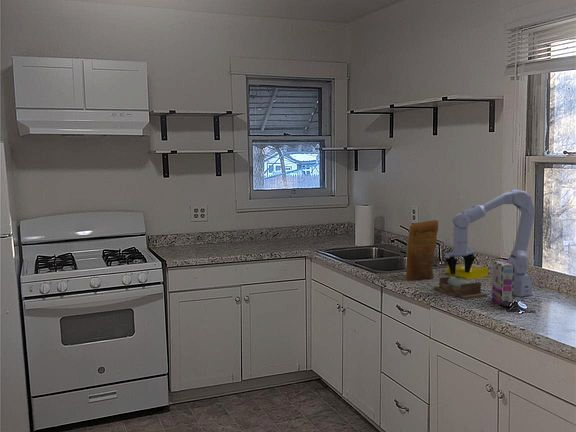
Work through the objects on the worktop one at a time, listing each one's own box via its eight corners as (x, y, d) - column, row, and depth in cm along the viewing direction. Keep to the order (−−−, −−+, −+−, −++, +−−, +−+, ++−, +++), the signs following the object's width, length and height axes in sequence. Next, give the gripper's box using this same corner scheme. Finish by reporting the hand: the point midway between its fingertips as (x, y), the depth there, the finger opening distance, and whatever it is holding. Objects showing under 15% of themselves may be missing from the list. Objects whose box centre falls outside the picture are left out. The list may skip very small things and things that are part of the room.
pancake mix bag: (441, 278, 275) (443, 220, 272) (409, 282, 267) (410, 223, 264) (432, 275, 281) (433, 219, 278) (400, 279, 273) (401, 221, 270)
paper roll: (472, 292, 243) (472, 280, 242) (462, 293, 241) (463, 282, 241) (456, 287, 252) (456, 276, 252) (447, 288, 250) (447, 277, 250)
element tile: (489, 276, 280) (490, 266, 280) (468, 280, 272) (469, 270, 272) (465, 271, 293) (465, 261, 292) (444, 274, 285) (445, 265, 284)
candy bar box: (513, 307, 223) (514, 265, 222) (500, 307, 223) (501, 265, 222) (503, 299, 234) (504, 260, 233) (491, 299, 235) (492, 260, 233)
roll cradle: (486, 296, 240) (487, 283, 239) (463, 299, 235) (464, 286, 235) (455, 286, 258) (456, 274, 258) (433, 289, 254) (433, 276, 253)
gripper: (468, 239, 251) (467, 269, 252) (440, 241, 245) (440, 273, 247) (479, 241, 244) (478, 272, 246) (451, 244, 239) (450, 276, 240)
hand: (460, 273), depth 246 cm, fingers open, 7 cm apart
